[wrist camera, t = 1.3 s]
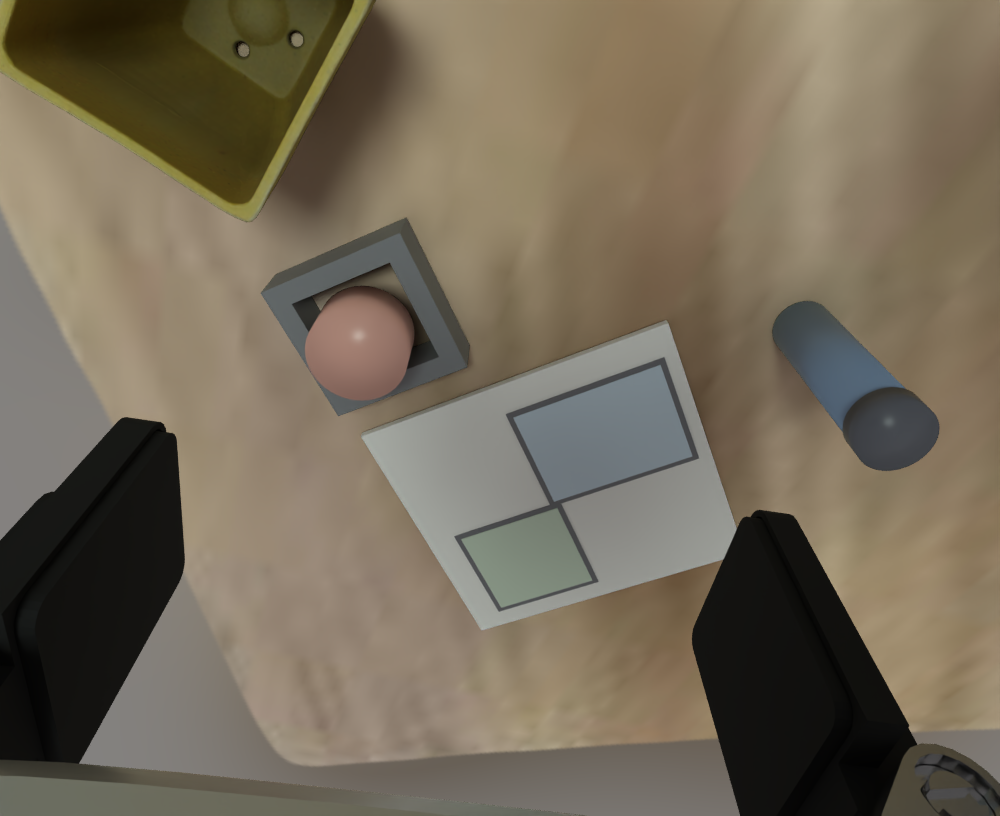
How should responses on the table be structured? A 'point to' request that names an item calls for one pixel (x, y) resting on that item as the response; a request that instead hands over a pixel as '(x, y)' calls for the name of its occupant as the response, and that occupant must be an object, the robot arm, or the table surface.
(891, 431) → the cylinder
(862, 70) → the table surface
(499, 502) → the sheet
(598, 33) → the table surface
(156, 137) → the flower pot
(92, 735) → the robot arm
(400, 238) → the button collar
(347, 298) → the button
